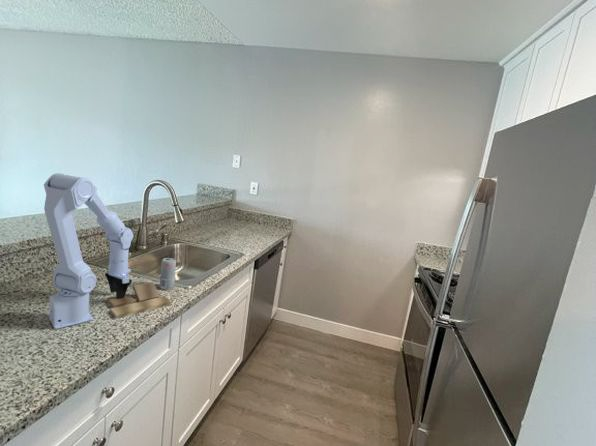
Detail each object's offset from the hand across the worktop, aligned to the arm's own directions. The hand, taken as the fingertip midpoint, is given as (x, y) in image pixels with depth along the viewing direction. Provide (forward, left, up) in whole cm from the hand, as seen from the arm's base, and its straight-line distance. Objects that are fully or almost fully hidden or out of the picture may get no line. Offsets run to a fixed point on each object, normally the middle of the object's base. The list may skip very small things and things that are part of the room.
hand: (117, 295), depth 108 cm
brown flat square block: (0, -4, -1) cm, 4 cm away
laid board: (+4, -12, -1) cm, 12 cm away
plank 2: (+8, -5, +1) cm, 9 cm away
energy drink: (+18, 0, -1) cm, 18 cm away
